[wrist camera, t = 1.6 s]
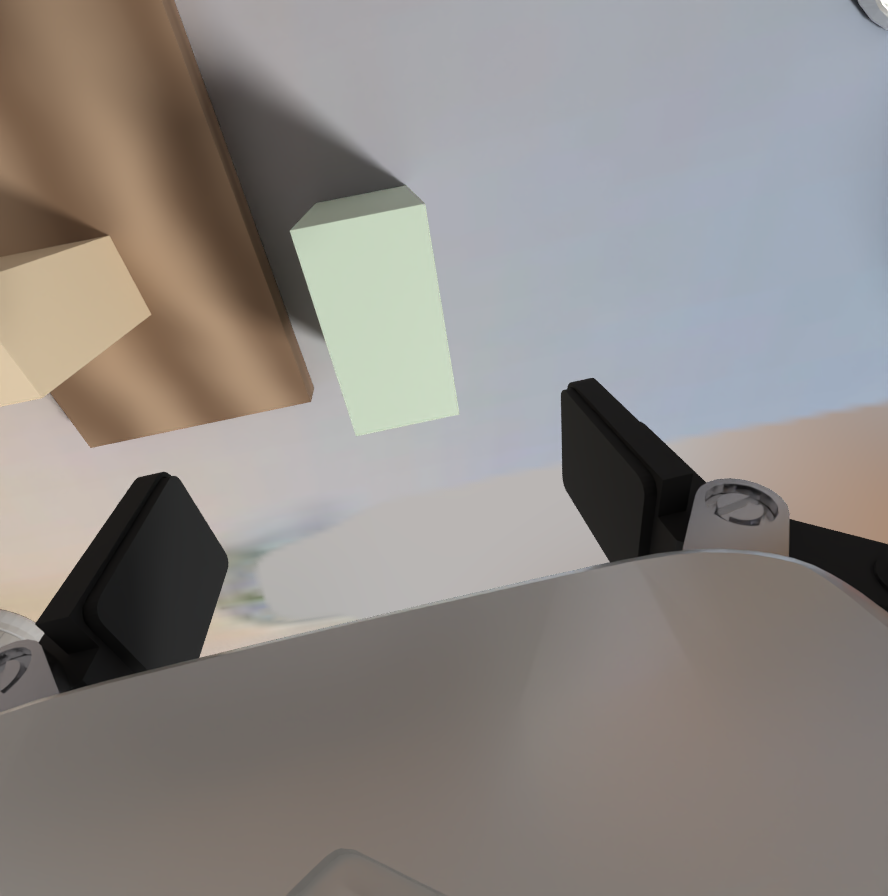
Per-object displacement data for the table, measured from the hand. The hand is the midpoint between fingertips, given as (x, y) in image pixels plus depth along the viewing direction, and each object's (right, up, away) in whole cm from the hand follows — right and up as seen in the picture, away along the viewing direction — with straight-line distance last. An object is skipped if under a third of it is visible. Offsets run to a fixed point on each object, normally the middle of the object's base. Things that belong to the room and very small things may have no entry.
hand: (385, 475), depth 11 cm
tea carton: (-2, +11, +16) cm, 20 cm away
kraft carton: (-18, +9, +12) cm, 24 cm away
